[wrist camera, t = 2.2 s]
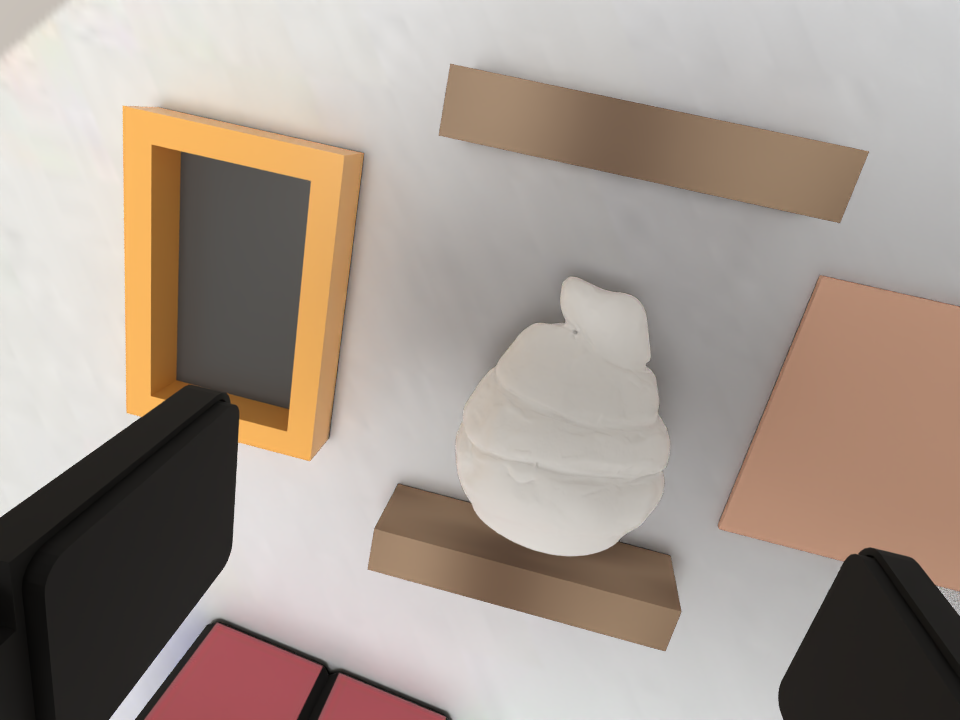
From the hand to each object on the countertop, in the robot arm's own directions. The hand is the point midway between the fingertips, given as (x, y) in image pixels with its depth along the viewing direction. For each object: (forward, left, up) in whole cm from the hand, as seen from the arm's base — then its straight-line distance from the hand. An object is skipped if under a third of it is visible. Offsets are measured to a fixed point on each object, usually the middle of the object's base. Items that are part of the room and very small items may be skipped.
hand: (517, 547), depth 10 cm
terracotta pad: (-10, 0, -9) cm, 14 cm away
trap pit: (+9, 0, -9) cm, 13 cm away
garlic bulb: (-1, 0, -10) cm, 10 cm away
